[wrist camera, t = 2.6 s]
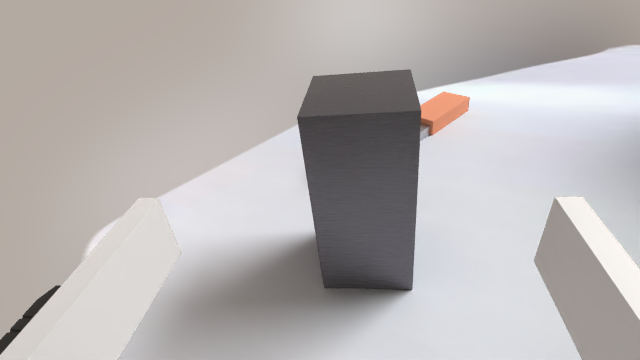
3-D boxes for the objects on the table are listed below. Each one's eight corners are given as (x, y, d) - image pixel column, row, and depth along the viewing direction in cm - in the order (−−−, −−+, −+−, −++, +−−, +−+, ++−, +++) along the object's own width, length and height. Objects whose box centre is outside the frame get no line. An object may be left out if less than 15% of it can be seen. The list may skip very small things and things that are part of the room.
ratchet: (374, 201, 33) (373, 164, 30) (308, 168, 38) (303, 135, 36) (490, 114, 44) (496, 82, 42) (426, 99, 50) (428, 70, 48)
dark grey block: (331, 229, 30) (313, 76, 23) (405, 228, 29) (410, 69, 22) (324, 287, 25) (297, 116, 18) (412, 289, 24) (421, 110, 17)
